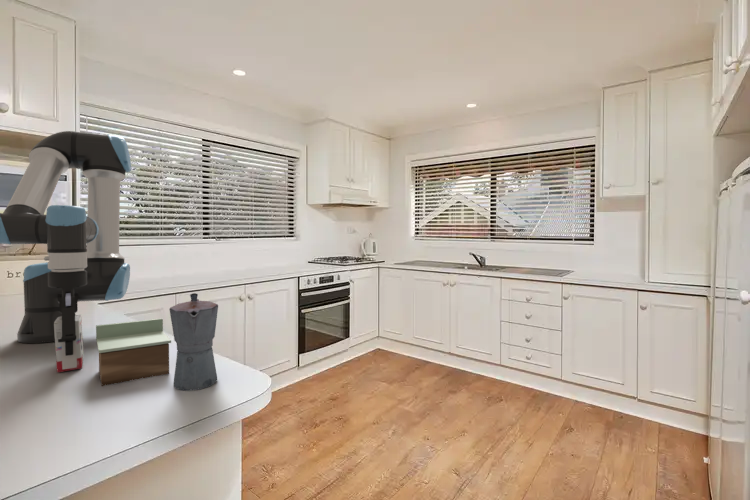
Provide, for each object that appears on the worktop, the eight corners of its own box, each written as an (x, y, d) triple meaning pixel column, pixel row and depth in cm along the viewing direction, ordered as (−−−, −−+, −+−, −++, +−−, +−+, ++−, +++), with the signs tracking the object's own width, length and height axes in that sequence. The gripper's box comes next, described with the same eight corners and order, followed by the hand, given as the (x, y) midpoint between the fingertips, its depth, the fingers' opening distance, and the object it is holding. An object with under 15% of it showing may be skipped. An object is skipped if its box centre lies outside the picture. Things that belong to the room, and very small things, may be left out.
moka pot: (170, 399, 79) (169, 299, 78) (170, 374, 92) (169, 288, 91) (221, 391, 83) (221, 296, 82) (214, 368, 97) (213, 286, 96)
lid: (96, 340, 93) (96, 325, 93) (162, 332, 102) (162, 318, 101) (98, 353, 84) (98, 336, 84) (171, 342, 92) (171, 327, 92)
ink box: (81, 369, 94) (80, 320, 94) (54, 373, 92) (53, 323, 91) (83, 359, 102) (83, 313, 101) (58, 363, 99) (57, 316, 98)
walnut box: (99, 371, 94) (98, 341, 93) (161, 361, 101) (160, 333, 101) (101, 386, 85) (101, 353, 84) (169, 373, 93) (168, 344, 92)
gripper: (49, 267, 102) (51, 354, 103) (44, 275, 85) (47, 379, 86) (86, 265, 106) (87, 349, 107) (88, 273, 89) (90, 372, 90)
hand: (69, 362), depth 97 cm, fingers closed on ink box, 9 cm apart
